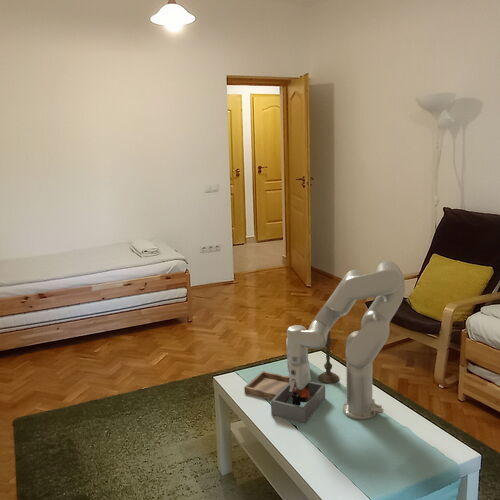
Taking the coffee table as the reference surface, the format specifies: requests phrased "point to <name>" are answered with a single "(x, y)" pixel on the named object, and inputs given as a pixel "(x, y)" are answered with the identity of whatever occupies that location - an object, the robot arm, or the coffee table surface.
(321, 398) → the grey open box
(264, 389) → the tray
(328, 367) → the candlestick holder
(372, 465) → the coffee table surface
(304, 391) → the pomegranate
